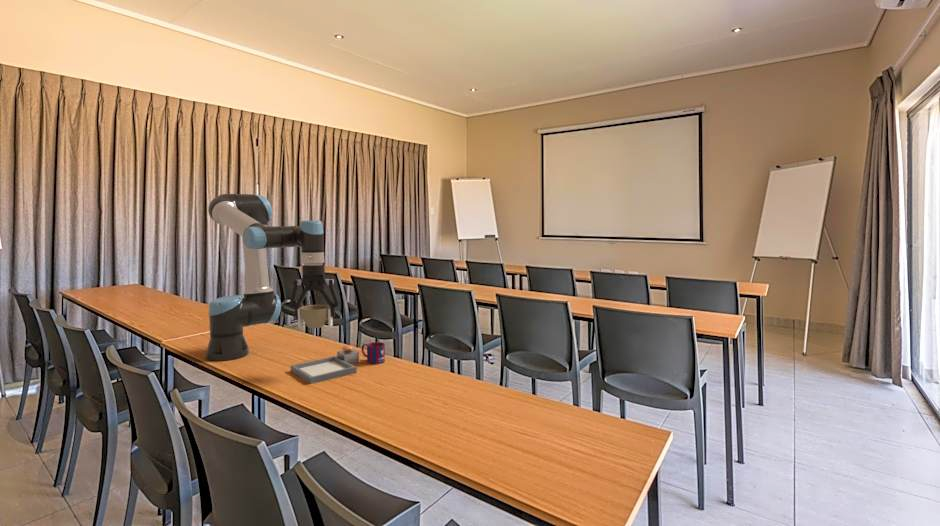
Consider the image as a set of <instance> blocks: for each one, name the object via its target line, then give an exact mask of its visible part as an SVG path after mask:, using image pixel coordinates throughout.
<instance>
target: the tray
mask: <svg viewBox="0 0 940 526" xmlns="http://www.w3.org/2000/svg"><path fill="white" fill-rule="evenodd" d="M357 370H358V368H357V366H356V365H354V364H350V363H348V362H346V361H344V360H342V359H340V358H338V357H337V355H336V356H335V355H333V356H328V357H324V358H320V359H319V358H318V359H315V360H311V361H305V362H301V363H296V364H291V365H290V372H292V373H293V374H295V375H297V376H298V377H299V378H301V379H302V380H304V381H306V382H307V383H309V384H310V385H313V384H316V383H320V382H325V381H328V380H332V379H337V378H340V377H344V376H348V375H352V374H356V373H357V372H358V371H357Z"/></svg>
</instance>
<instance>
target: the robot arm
mask: <svg viewBox="0 0 940 526" xmlns="http://www.w3.org/2000/svg"><path fill="white" fill-rule="evenodd" d="M207 209H208V215H209V217H210V218H211V220H212V221H213V222H215V223H217V225H221V226H225V227H227V228H229V229H230V230H232V231H233V232H235V233H236V234H238V235H239V236H241V239H242V242H241V243H242V250H243V260H244V271H245V279H246V280H245V281H246V290H245V291H244V292H243V297H242V296H241V295H239V294H232V295H225V296H221V297H218V298H214V299H213V300H211V301H210V302H209V304H208V318H209V319H208V320H209V336H210V337H209V342H208V344H207V348H206V351H205V357H206V360H208V361H209V360H210V361H214V362H215V361H217V362H218V361H220V362H221V361H223V362H224V361H230V360H236V359H240V358H243V357H245V356H247V355H249V350H250V349H249V345H248V343H247V341H246V338H245V336H244V328H245V327H250V326H255V325H261V324H268V323H271V322H274V321H276V320H277V319H278V318H279V316H280V314H281V309H282V308H281V307H282V302H281V299H280V296H279V295H278V294H277V293H275V290H274V289H273V288H272V287H271V285H270V279H269V269H268V268H269V267H268V261H267V259H268V258H267V257H268V256H267V249H276V248H277V249H278V248H298V247H299V248H301V263H302V267H301V269H302V270H301V271H302V273H301V274H302V275H301V276H302V278H301V279H298V278H297V279H296V278H295V279H294V280H293V289H292V292H291V295H290V296H291V297H290V302H289V304H288V306H289V307H290V308H294V315H295V316H294V317H295V318H297V325H298V328H301V327H303V326H304V320H303V318H302V315H301V311H300V308H301V307H302V306H301V305H302V304H303V301H305V298H306V296H307V294H308V293H309V291H310V292H311V291H315V292H316V291H319V292H320V293H321V295H322V297H323V298H324V300H325V301H326V303H327V304H328V305H327V306H330V308H328V317H327V319H328V323H327V324H328V328H331V327H333V326H334V323H333V322H334V321H333V319H334V317H335V316H336V308H337V307H339V306H340V305H341V301H340V299H339V295H338V293H337V290H336V287H335V286H336V285H335V279H334V278H330V279H329V278H326V274H325V272H326V271H325V270H326V269H325V268H326V267H325V265H324V263H325V251H324V250H325V249H324V248H325V245H324V237H325V236H324V227H323V226H324V225H323V222H322V221H321V220H302V221H300V224H299V225H285V226H284V225H283V226H281V225H280V226H268V223H270V222H271V220H272V217H273V208H272V205H271V203H270V201H269V200H268V198H267V197H266V196H264V195H261V194H249V193H248V194H246V193H245V194H243V193H241V194H240V193H223V194H219V195H217V196H215V197H214V198H213V199H211V201H210V202H209V204H208V207H207ZM302 284H303V286H304V287H303V290H302V292H301V294H300V295H299V298H298V294H299V290H300V286H301V285H302ZM325 284H326V285H327V286H328V288H329V291H330V293H331V296H332V297H331V296H330V295H329V293H328V291H327V290H326V287H325V286H324V285H325ZM297 298H298V299H297Z"/></svg>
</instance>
